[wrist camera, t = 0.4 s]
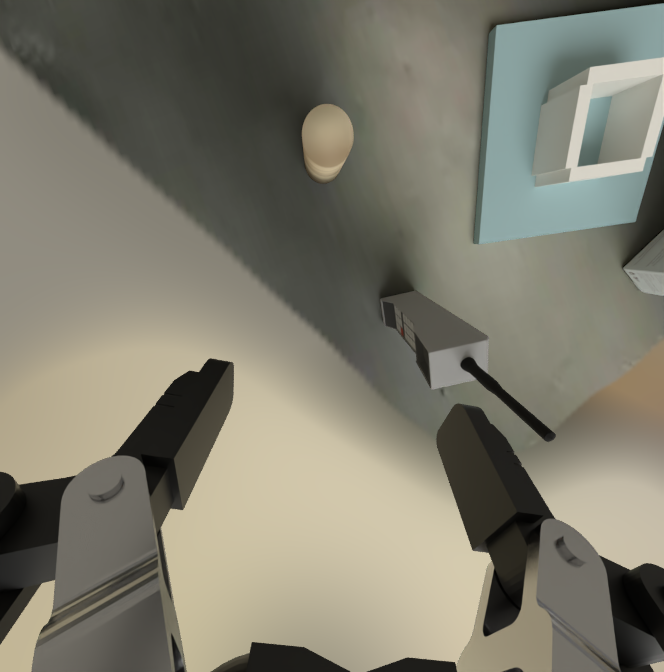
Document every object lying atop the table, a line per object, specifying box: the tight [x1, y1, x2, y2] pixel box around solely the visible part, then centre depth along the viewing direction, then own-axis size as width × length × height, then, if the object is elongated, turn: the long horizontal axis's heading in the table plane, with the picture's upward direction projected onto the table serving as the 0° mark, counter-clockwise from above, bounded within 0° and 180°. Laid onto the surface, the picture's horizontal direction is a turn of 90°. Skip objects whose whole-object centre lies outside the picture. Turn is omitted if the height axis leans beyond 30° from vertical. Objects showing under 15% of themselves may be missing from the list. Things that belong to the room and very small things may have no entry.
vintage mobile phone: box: [380, 291, 556, 442], centre depth 26 cm, size 4×5×25 cm
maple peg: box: [302, 104, 354, 184], centre depth 25 cm, size 4×4×10 cm
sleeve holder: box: [474, 3, 664, 244], centre depth 28 cm, size 20×20×6 cm
